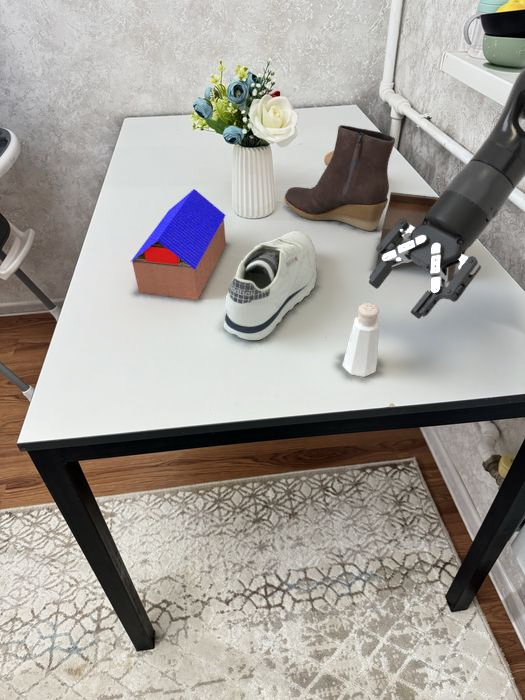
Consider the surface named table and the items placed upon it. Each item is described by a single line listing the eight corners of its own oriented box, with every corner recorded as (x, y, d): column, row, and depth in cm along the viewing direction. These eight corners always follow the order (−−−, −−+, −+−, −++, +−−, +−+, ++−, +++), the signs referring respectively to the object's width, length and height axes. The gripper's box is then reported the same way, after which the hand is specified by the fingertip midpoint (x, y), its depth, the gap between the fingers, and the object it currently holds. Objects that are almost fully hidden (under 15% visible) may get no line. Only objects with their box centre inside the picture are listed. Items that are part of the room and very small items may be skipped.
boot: (295, 197, 118) (298, 108, 104) (390, 222, 108) (407, 127, 95) (276, 212, 113) (277, 120, 99) (375, 239, 103) (390, 142, 89)
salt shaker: (366, 382, 72) (376, 325, 65) (335, 367, 75) (341, 310, 68) (384, 362, 76) (395, 306, 68) (353, 348, 78) (361, 292, 71)
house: (227, 244, 102) (223, 191, 95) (199, 300, 88) (191, 243, 80) (173, 239, 104) (165, 186, 96) (136, 293, 90) (123, 237, 82)
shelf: (452, 248, 100) (465, 200, 93) (451, 281, 91) (465, 230, 84) (382, 239, 103) (390, 191, 96) (375, 270, 94) (383, 220, 87)
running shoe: (329, 260, 97) (334, 205, 89) (277, 353, 78) (278, 293, 70) (277, 250, 100) (277, 196, 92) (215, 336, 81) (208, 277, 73)
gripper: (419, 172, 69) (348, 267, 72) (506, 212, 60) (420, 318, 63) (437, 198, 74) (370, 285, 78) (519, 238, 65) (439, 334, 69)
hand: (392, 300), depth 70 cm, fingers open, 8 cm apart
